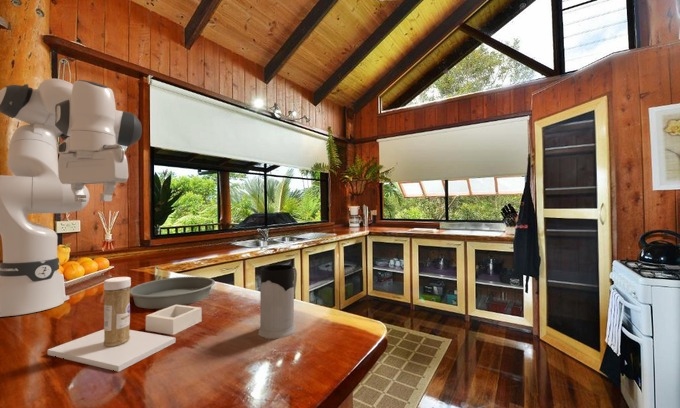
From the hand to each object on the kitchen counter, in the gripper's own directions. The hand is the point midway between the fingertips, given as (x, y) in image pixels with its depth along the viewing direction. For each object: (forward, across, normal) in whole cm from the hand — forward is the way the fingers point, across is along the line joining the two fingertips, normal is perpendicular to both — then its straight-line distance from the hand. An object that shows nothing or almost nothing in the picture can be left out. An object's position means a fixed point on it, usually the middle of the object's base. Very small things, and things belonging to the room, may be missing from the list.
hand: (92, 201), depth 72 cm
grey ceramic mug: (+31, -45, -15) cm, 57 cm away
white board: (+31, -17, +6) cm, 36 cm away
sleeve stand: (+31, -19, -7) cm, 37 cm away
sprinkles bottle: (+30, -17, +6) cm, 35 cm away
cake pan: (+32, +1, -25) cm, 40 cm away
